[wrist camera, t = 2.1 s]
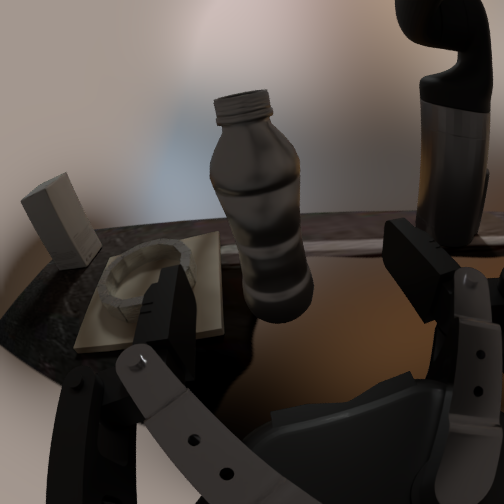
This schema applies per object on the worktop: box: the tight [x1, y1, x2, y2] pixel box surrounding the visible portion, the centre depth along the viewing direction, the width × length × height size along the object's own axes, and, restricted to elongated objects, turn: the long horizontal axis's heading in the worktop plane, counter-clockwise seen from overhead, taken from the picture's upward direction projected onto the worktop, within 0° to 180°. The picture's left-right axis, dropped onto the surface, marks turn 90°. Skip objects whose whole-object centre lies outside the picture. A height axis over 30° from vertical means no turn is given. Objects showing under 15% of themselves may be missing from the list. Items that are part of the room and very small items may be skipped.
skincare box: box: [21, 172, 102, 270], centre depth 41 cm, size 8×7×16 cm
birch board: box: [74, 231, 224, 353], centre depth 34 cm, size 18×18×1 cm
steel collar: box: [97, 239, 197, 323], centre depth 33 cm, size 12×12×2 cm
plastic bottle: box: [210, 89, 314, 324], centre depth 23 cm, size 6×7×20 cm
